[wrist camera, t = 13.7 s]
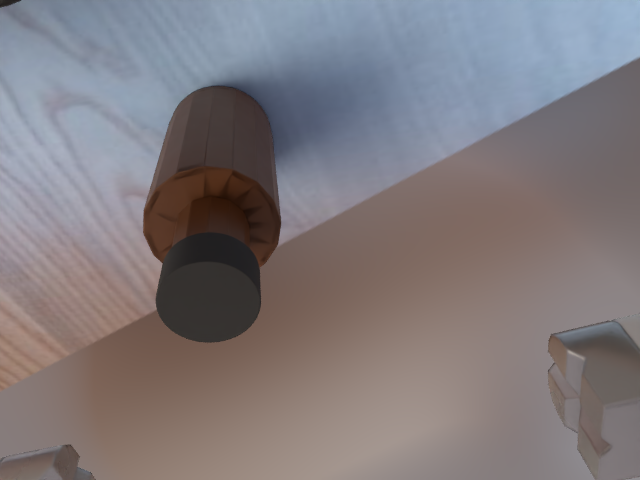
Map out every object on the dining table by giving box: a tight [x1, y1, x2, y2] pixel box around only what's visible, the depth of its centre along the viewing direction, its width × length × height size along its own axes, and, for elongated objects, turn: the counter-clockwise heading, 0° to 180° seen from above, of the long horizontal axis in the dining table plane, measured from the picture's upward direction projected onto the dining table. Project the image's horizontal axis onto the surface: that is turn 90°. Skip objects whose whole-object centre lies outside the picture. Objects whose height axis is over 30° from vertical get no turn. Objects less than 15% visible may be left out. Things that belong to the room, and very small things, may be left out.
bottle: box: [143, 86, 281, 267], centre depth 35 cm, size 7×7×17 cm
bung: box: [156, 232, 261, 342], centre depth 28 cm, size 5×5×4 cm
